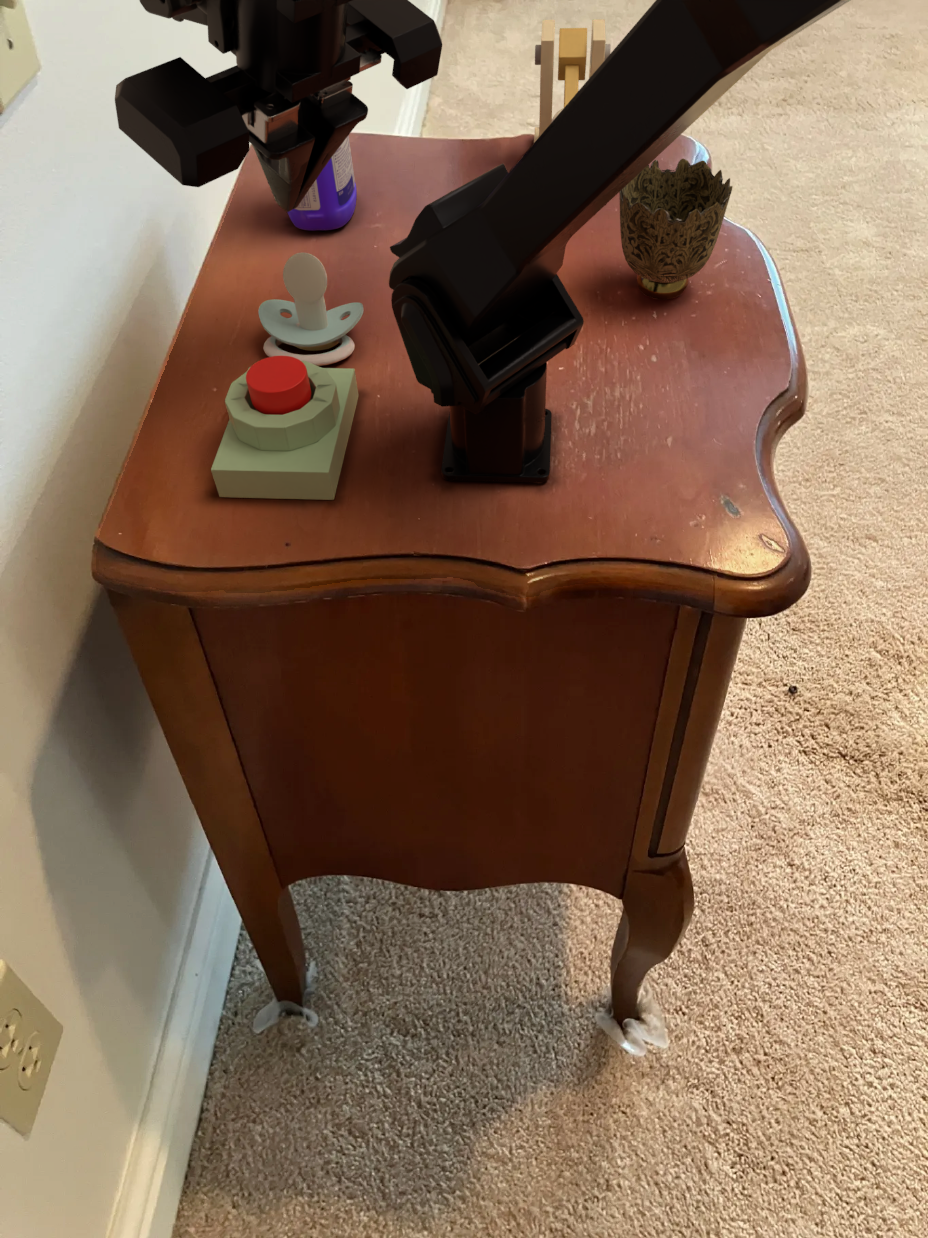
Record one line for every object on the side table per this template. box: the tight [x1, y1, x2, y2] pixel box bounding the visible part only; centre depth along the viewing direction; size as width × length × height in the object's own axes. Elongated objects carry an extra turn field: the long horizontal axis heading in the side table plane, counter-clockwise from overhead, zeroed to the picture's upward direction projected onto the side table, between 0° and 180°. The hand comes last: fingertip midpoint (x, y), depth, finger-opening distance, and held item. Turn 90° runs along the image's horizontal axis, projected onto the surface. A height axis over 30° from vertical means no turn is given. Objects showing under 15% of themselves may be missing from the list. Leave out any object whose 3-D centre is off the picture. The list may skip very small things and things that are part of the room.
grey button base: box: [210, 361, 360, 501], centre depth 58 cm, size 10×7×4 cm
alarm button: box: [246, 356, 311, 415], centre depth 56 cm, size 4×4×2 cm
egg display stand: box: [533, 18, 611, 144], centre depth 78 cm, size 8×6×10 cm
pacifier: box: [257, 251, 364, 367], centre depth 64 cm, size 7×6×6 cm
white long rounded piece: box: [551, 27, 588, 123], centre depth 75 cm, size 10×3×3 cm, turn 176°
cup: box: [618, 158, 733, 301], centre depth 66 cm, size 8×7×8 cm
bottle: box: [287, 134, 358, 231], centre depth 71 cm, size 7×6×17 cm
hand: (286, 205), depth 59 cm, fingers closed
